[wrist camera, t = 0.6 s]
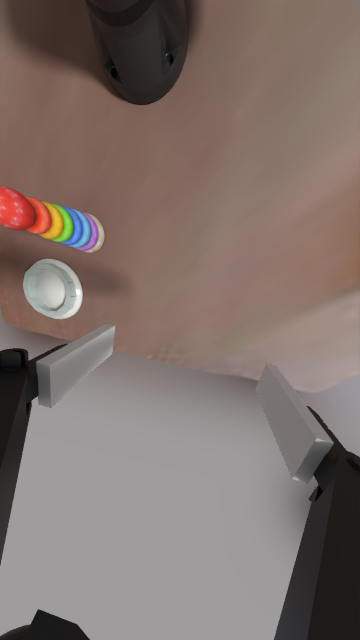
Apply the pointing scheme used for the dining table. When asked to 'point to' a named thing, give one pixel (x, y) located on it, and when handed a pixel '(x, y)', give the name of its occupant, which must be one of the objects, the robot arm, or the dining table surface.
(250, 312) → the dining table surface
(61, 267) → the collar base
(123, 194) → the dining table surface
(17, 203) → the stacking toy
